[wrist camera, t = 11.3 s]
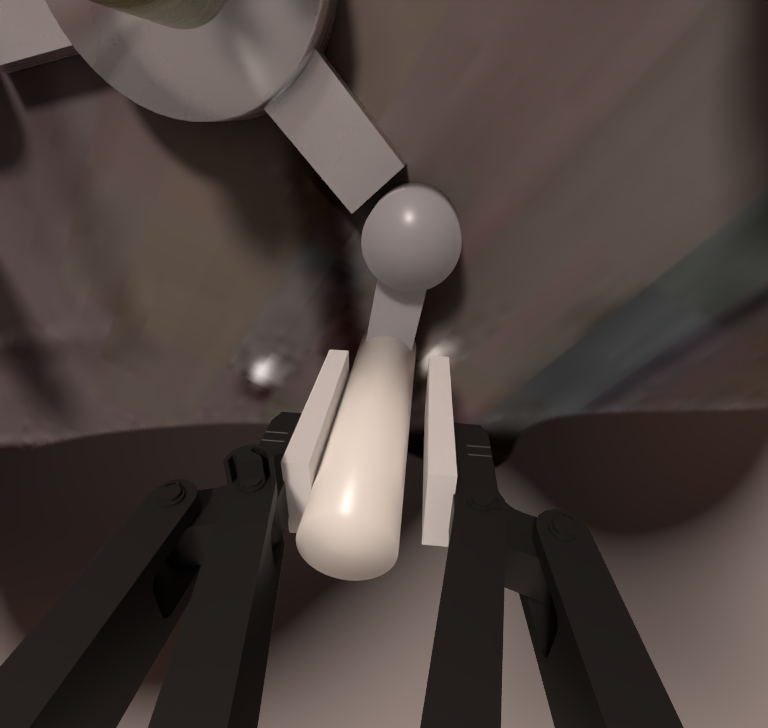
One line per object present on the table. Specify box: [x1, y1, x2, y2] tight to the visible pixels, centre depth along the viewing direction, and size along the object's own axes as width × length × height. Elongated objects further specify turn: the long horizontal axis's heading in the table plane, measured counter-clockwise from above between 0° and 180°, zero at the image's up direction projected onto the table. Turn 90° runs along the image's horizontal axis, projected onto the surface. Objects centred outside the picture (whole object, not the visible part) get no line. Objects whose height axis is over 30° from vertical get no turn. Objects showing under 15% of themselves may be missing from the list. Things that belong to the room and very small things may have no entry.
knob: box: [296, 182, 462, 581], centre depth 14 cm, size 9×4×11 cm, turn 169°
